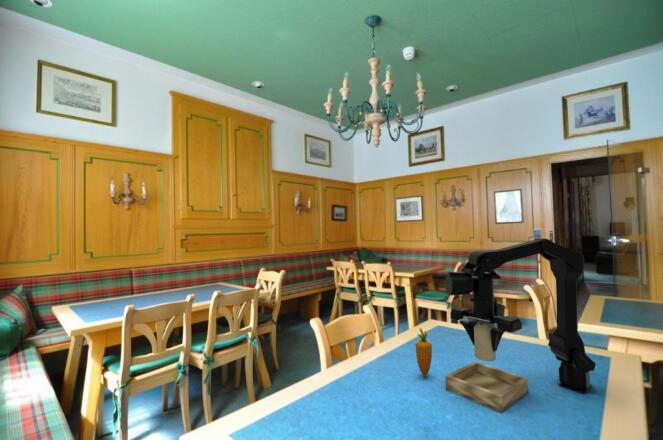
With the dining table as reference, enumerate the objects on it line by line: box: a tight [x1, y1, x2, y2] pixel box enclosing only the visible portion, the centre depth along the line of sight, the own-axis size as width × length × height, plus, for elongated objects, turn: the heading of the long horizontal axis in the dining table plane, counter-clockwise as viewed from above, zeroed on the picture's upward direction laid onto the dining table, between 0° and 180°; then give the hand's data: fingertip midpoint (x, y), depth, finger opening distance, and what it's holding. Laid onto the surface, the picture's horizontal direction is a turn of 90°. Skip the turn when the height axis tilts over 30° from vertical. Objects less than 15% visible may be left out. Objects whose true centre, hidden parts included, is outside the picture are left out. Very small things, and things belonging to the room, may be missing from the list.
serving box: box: [445, 361, 530, 414], centre depth 95 cm, size 16×16×4 cm
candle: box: [473, 321, 497, 362], centre depth 96 cm, size 6×6×10 cm
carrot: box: [415, 327, 433, 378], centre depth 105 cm, size 5×5×15 cm
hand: (484, 348), depth 96 cm, fingers closed on candle, 5 cm apart
